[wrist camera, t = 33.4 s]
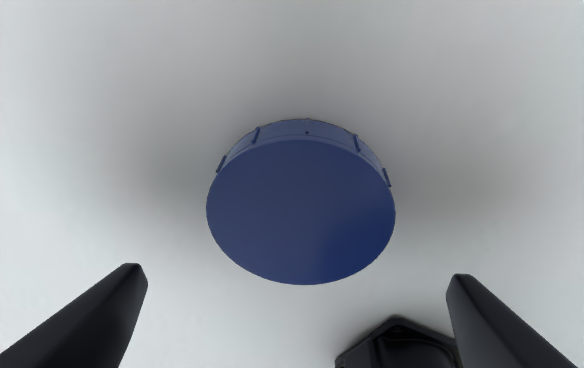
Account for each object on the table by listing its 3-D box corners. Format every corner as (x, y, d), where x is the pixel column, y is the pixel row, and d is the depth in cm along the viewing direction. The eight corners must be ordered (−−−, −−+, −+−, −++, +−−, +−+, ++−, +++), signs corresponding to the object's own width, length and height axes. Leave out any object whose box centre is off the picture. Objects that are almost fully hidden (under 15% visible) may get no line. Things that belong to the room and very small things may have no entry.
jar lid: (389, 248, 15) (397, 278, 13) (245, 262, 16) (238, 291, 14) (382, 102, 11) (393, 121, 9) (192, 136, 12) (175, 157, 10)
